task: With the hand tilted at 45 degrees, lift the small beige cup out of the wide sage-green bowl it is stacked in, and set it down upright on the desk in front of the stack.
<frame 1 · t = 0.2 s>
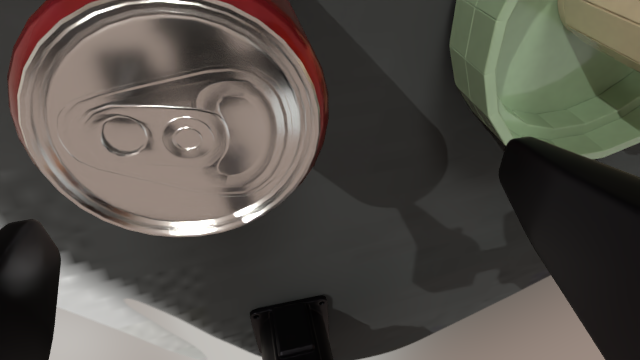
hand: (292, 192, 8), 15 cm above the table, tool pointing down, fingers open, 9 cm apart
big bowl: (585, 1, 23), on the table, touching beige cup
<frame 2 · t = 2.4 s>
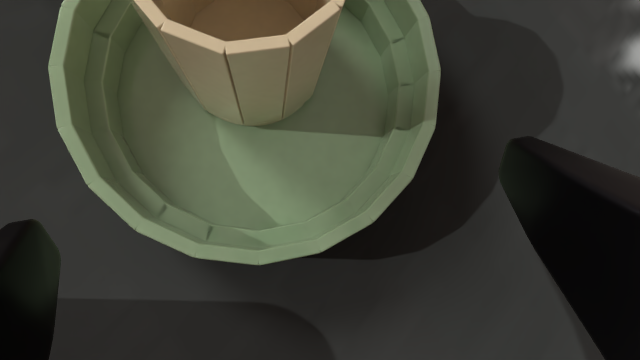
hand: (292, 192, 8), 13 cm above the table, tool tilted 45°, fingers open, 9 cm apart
big bowl: (258, 97, 22), on the table, touching beige cup
beige cup: (251, 57, 22), resting on big bowl
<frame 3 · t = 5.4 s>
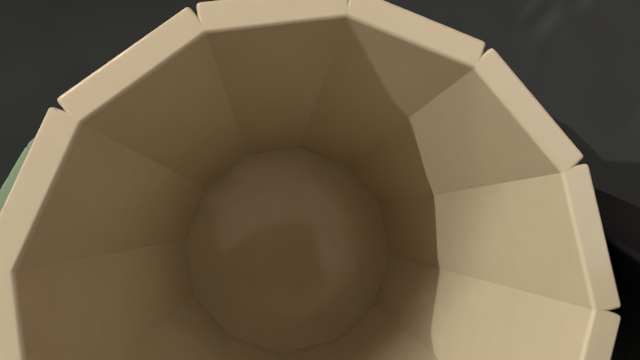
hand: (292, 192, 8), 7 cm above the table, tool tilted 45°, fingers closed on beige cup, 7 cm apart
big bowl: (298, 303, 14), on the table, touching beige cup
beige cup: (289, 246, 14), resting on big bowl, touching gripper
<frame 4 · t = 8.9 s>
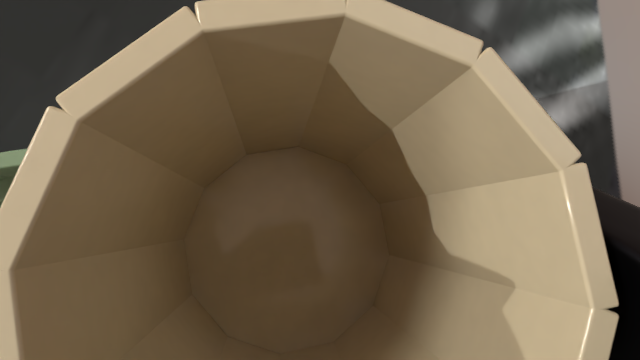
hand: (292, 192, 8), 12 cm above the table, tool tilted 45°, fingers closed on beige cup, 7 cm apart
big bowl: (87, 342, 19), on the table
beige cup: (288, 246, 14), point 6 cm above the table, touching gripper
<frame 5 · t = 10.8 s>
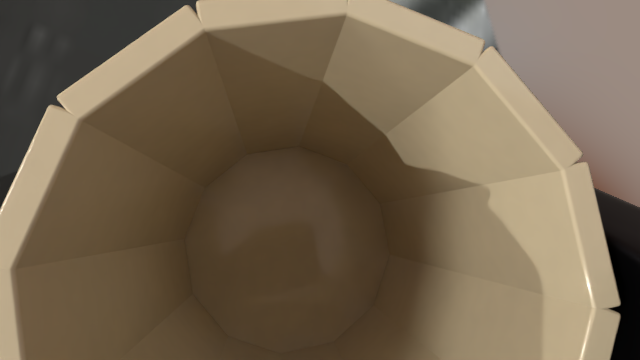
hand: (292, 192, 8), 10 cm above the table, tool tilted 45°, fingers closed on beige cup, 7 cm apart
beige cup: (288, 246, 14), point 4 cm above the table, touching gripper
when the fingers open (6 cm above the table, at t = 12.4 s): beige cup stays where it is, on the table.
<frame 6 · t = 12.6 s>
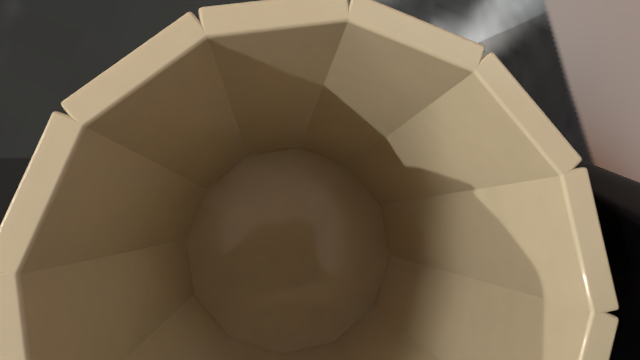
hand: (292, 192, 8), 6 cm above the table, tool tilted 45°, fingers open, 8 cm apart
beige cup: (289, 246, 14), on the table
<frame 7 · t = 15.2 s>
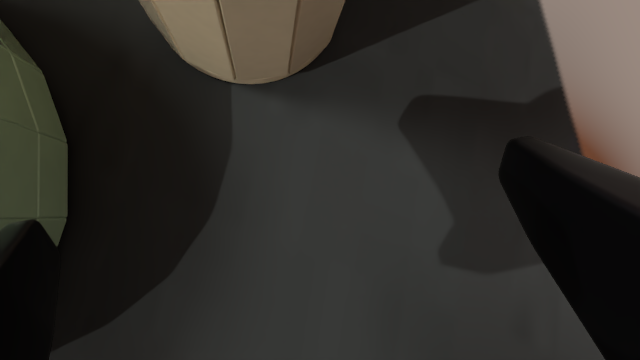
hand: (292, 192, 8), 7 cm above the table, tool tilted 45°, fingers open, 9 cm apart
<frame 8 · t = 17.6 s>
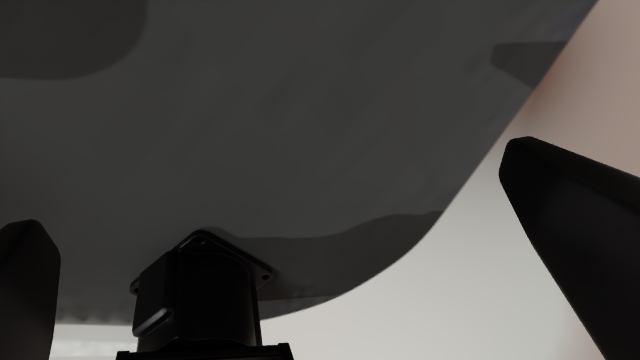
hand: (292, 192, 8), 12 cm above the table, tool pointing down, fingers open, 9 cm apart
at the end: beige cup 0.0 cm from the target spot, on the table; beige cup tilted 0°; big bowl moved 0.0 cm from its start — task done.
